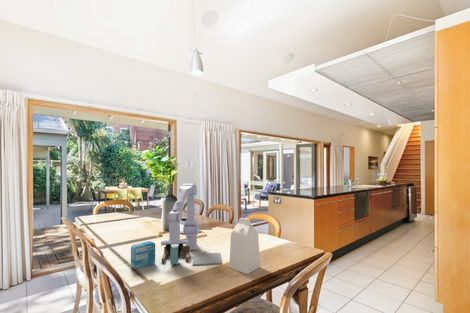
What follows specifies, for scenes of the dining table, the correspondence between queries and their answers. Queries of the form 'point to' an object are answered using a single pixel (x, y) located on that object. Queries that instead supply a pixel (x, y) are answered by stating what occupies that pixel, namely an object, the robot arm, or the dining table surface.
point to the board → (206, 259)
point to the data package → (142, 254)
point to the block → (174, 255)
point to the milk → (244, 247)
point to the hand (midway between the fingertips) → (174, 257)
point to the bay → (184, 252)
